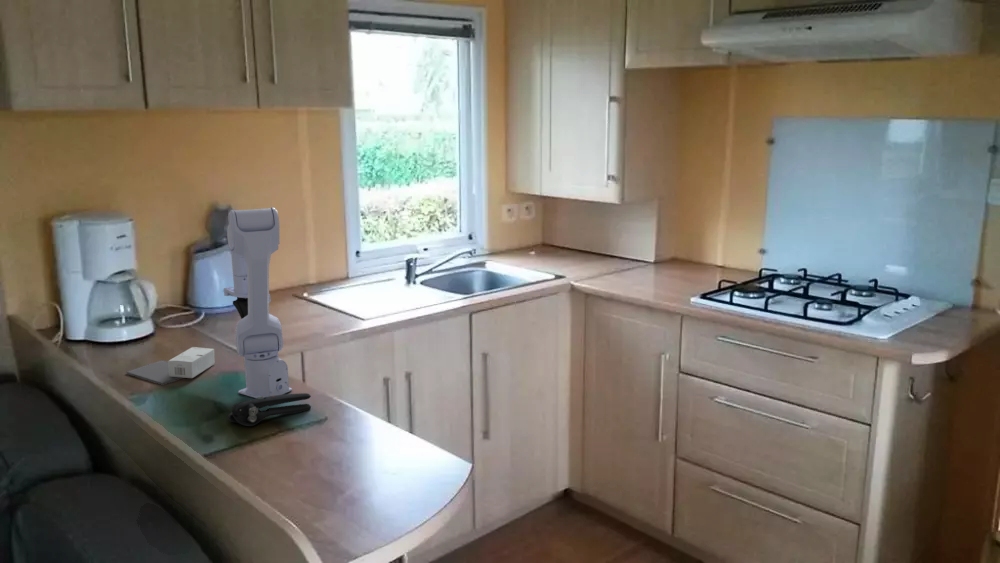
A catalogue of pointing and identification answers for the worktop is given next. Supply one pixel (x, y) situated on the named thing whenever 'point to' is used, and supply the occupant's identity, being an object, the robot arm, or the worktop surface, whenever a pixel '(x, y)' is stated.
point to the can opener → (252, 415)
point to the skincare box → (191, 362)
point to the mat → (154, 373)
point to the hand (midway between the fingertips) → (249, 327)
